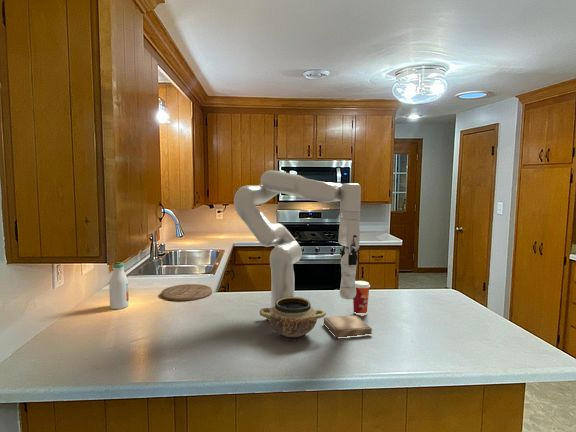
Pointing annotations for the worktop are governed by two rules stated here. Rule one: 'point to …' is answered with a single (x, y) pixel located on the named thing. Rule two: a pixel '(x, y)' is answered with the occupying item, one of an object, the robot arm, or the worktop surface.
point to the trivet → (186, 292)
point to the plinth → (347, 326)
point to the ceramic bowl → (292, 317)
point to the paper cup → (361, 297)
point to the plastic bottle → (347, 277)
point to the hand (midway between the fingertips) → (348, 262)
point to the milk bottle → (118, 288)
